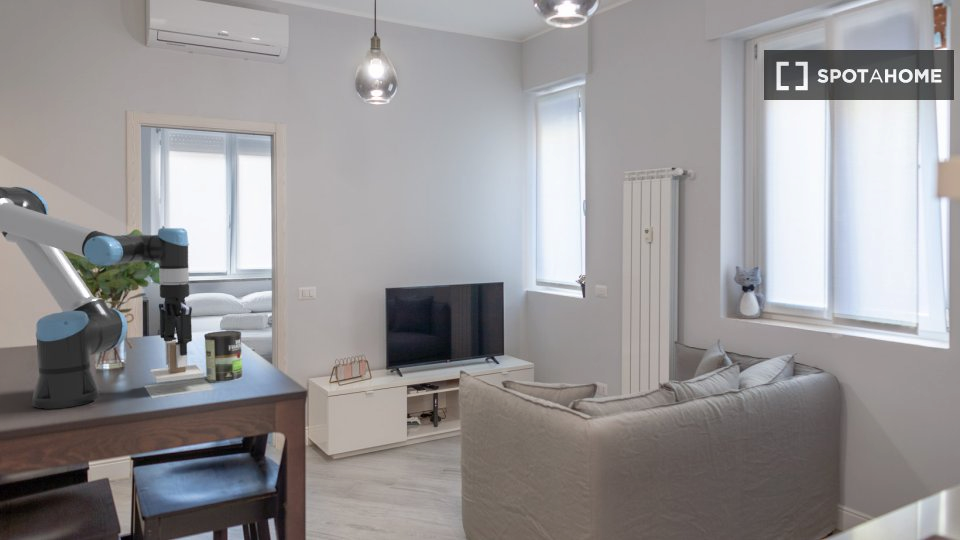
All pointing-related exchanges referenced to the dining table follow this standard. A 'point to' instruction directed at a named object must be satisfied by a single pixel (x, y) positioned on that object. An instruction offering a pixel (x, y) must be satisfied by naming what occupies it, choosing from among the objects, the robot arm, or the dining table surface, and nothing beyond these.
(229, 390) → the dining table surface
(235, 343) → the coffee can
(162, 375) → the square plate with block
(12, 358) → the dining table surface
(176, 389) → the mat
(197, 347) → the dining table surface
